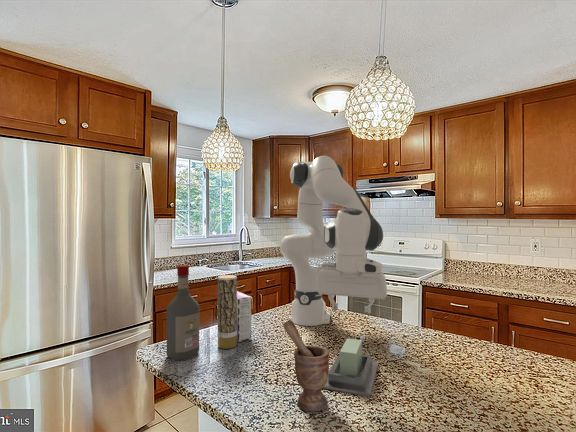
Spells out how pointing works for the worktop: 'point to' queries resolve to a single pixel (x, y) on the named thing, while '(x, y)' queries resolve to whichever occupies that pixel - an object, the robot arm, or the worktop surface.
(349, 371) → the block
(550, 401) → the worktop surface
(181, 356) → the liquor
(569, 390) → the worktop surface
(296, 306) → the robot arm
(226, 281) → the paper tube
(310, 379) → the mortar and pestle
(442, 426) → the worktop surface
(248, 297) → the candy box
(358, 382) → the duct collar
